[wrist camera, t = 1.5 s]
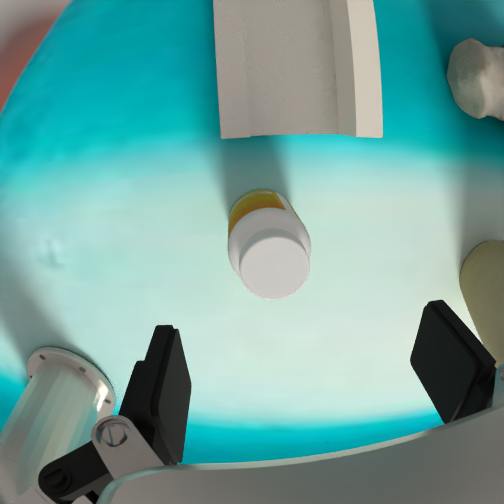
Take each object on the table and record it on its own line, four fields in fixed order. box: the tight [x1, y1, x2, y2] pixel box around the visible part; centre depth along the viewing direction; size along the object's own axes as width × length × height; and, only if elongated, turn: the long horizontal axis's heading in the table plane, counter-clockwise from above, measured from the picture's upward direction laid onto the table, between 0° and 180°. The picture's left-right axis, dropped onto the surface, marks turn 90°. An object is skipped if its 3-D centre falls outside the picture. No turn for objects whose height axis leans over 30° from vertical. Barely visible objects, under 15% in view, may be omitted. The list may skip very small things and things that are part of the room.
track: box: [213, 0, 383, 139], centre depth 18 cm, size 20×11×5 cm, turn 3°
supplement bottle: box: [228, 189, 311, 300], centre depth 23 cm, size 5×5×10 cm
